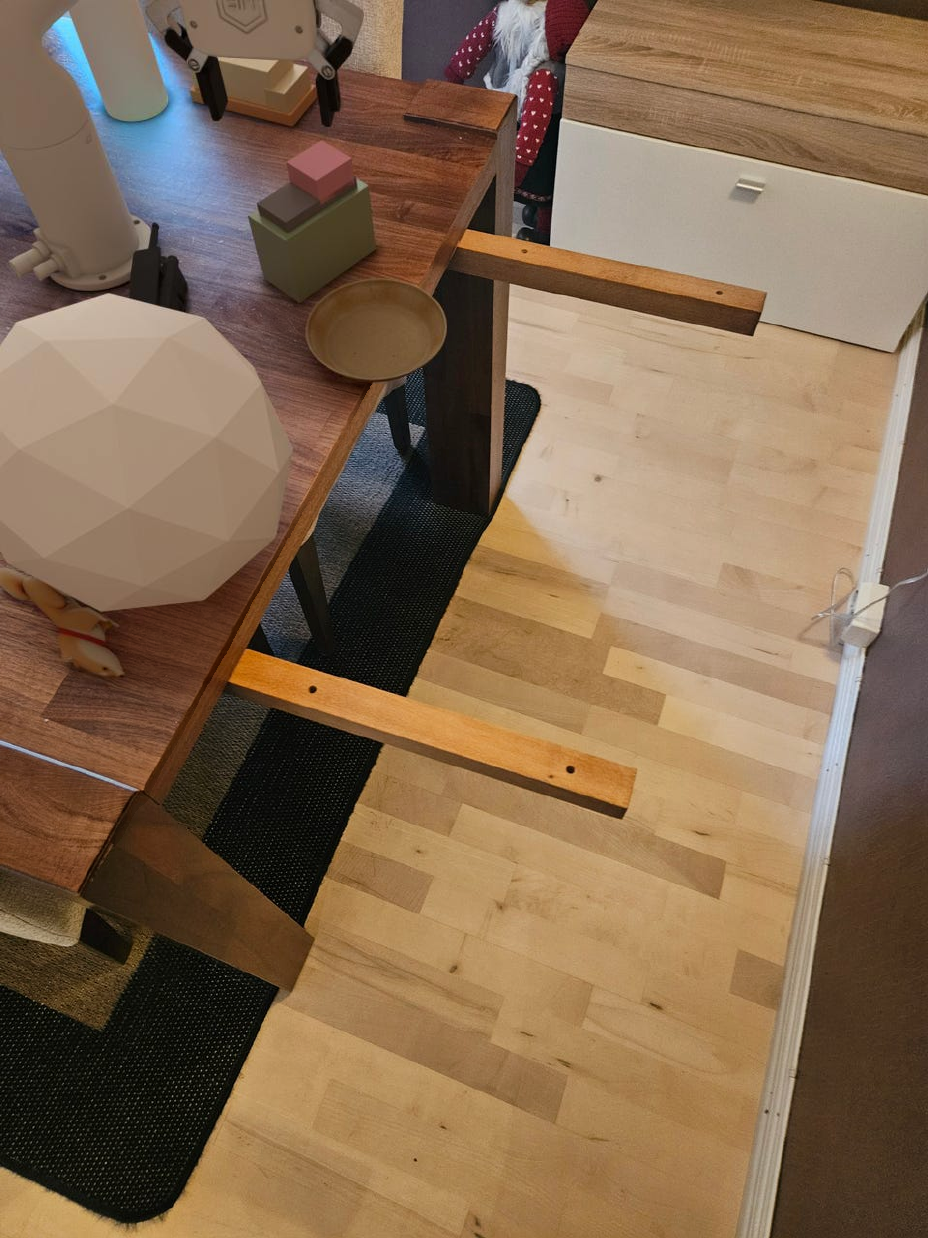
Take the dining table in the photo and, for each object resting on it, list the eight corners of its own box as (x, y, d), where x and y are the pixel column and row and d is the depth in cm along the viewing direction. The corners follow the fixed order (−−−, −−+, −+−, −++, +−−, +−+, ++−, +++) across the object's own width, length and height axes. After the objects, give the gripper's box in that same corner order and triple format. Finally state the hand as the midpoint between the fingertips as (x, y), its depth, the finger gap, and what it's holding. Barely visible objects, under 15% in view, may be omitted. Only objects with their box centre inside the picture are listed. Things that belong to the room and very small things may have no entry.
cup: (175, 86, 113) (133, -54, 99) (159, 123, 109) (113, -18, 95) (116, 83, 113) (65, -57, 99) (97, 119, 110) (42, -21, 96)
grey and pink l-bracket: (288, 232, 87) (281, 202, 84) (258, 213, 88) (251, 183, 85) (357, 186, 90) (353, 156, 87) (328, 168, 92) (323, 138, 89)
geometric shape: (-103, 339, 67) (-139, 595, 55) (135, 163, 60) (156, 410, 48) (124, 486, 87) (136, 700, 74) (324, 366, 80) (373, 579, 68)
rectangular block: (299, 303, 93) (285, 240, 86) (263, 278, 95) (247, 214, 88) (376, 249, 97) (369, 185, 90) (340, 226, 99) (330, 161, 92)
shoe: (317, 97, 112) (309, 48, 106) (292, 126, 109) (283, 78, 103) (219, 73, 114) (207, 24, 109) (192, 101, 111) (178, 52, 106)
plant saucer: (472, 327, 91) (472, 307, 89) (400, 417, 85) (398, 398, 83) (358, 280, 95) (356, 261, 93) (282, 364, 89) (277, 345, 87)
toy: (157, 648, 72) (123, 698, 72) (23, 559, 78) (-10, 604, 77) (135, 638, 69) (99, 690, 68) (-3, 546, 74) (-38, 593, 74)
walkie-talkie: (189, 344, 87) (202, 213, 96) (128, 319, 83) (147, 186, 92) (169, 379, 91) (183, 251, 100) (110, 358, 88) (129, 227, 97)
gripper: (87, -112, 57) (166, 135, 72) (339, -102, 56) (366, 146, 71) (118, -161, 60) (188, 84, 76) (356, -152, 60) (379, 94, 75)
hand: (275, 114), depth 73 cm, fingers open, 9 cm apart
